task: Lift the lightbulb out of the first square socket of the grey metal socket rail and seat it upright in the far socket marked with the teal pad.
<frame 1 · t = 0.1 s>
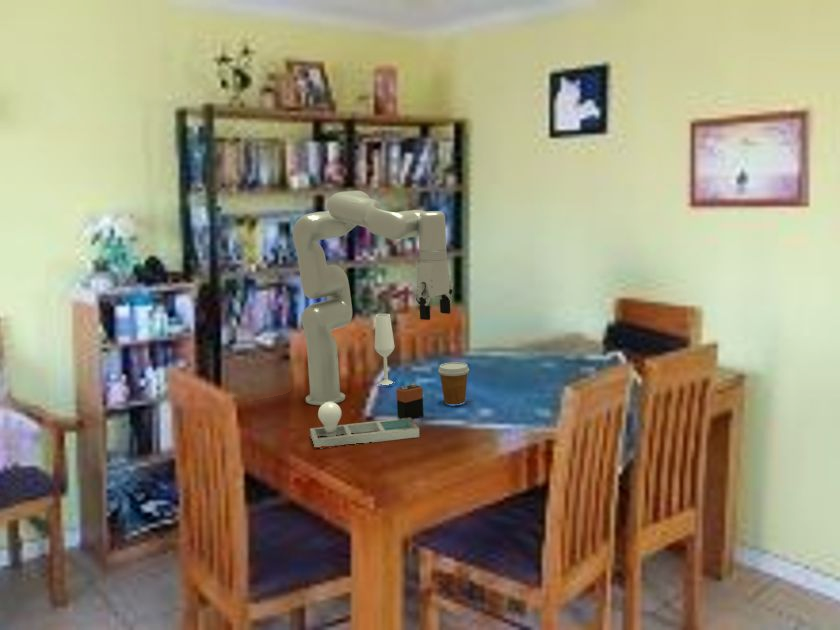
hand: (435, 316, 242), 31 cm above the table, tool pointing down, fingers open, 9 cm apart
lightbulb: (331, 441, 236), resting in socket rail
battery: (410, 418, 254), on the table
disposable coffee cup: (454, 403, 266), on the table
champagne flute: (386, 385, 290), on the table
socket rail: (364, 437, 238), on the table
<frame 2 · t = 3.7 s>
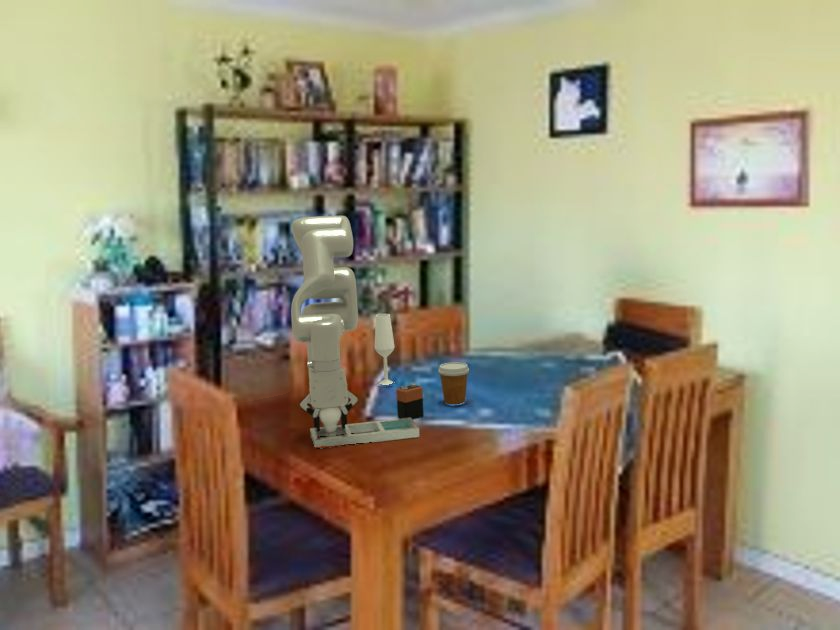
hand: (330, 428, 235), 4 cm above the table, tool pointing down, fingers closed on lightbulb, 6 cm apart
lightbulb: (331, 441, 236), resting in socket rail, touching gripper
everything else where it was.
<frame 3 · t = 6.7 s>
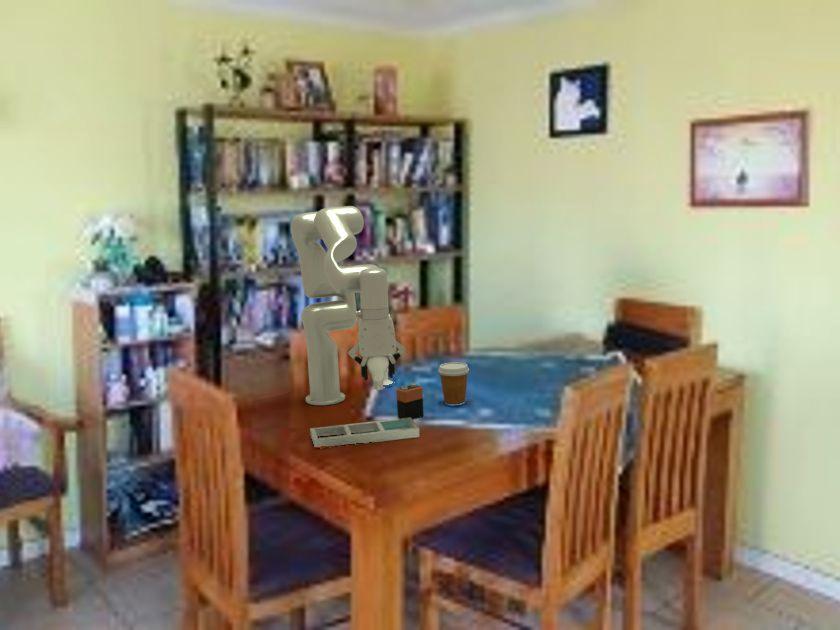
hand: (378, 377, 236), 17 cm above the table, tool pointing down, fingers closed on lightbulb, 6 cm apart
lightbulb: (378, 391, 237), point 13 cm above the table, touching gripper
everything else where it was.
when the fingers open (5 cm above the table, at t = 9.7 s): lightbulb moves 1 cm, resting on socket rail.
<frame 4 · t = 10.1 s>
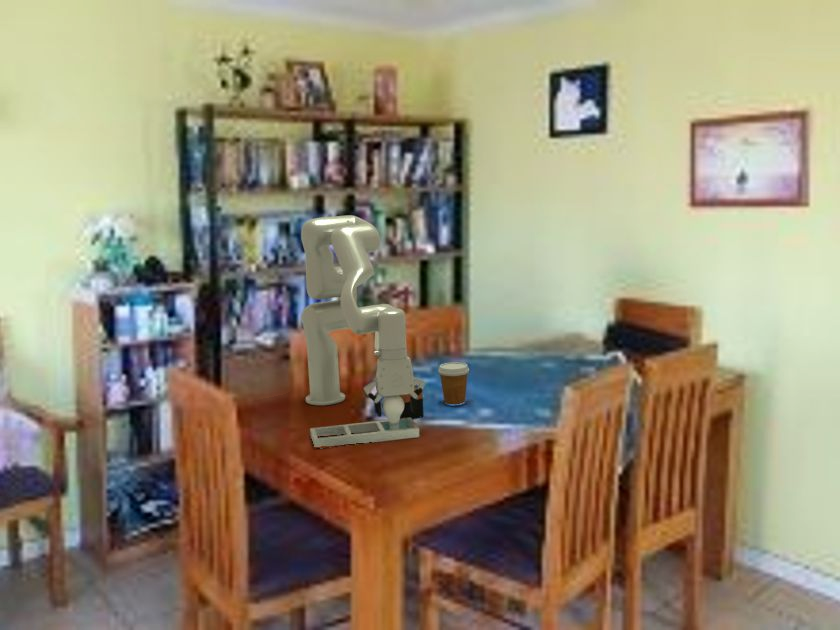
hand: (396, 413, 239), 6 cm above the table, tool pointing down, fingers open, 9 cm apart
lightbulb: (394, 433, 240), resting on socket rail
everything else where it was.
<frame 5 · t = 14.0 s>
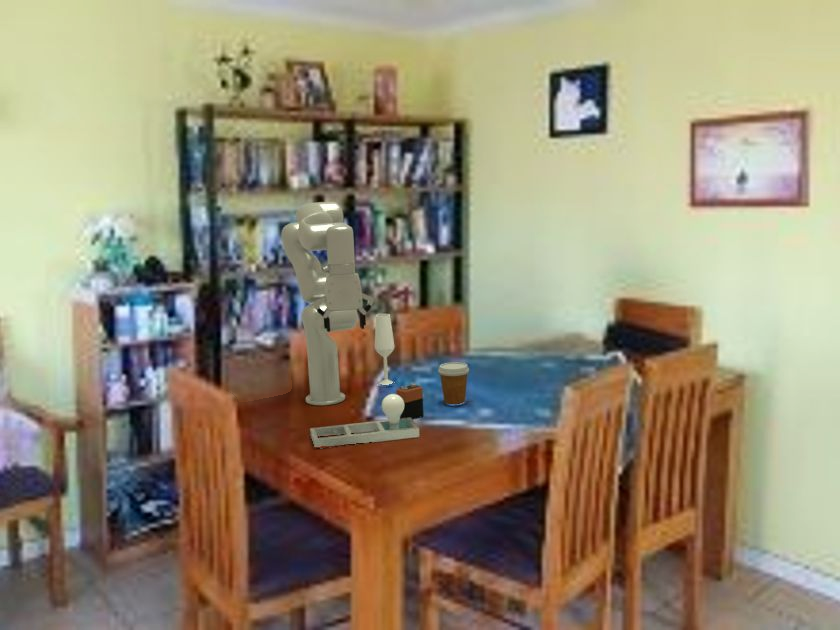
hand: (345, 329, 244), 28 cm above the table, tool pointing down, fingers open, 9 cm apart
nothing on the table moved.
at the end: lightbulb 0.7 cm from the target spot, resting on socket rail; lightbulb tilted 0°; the gripper is holding nothing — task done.
